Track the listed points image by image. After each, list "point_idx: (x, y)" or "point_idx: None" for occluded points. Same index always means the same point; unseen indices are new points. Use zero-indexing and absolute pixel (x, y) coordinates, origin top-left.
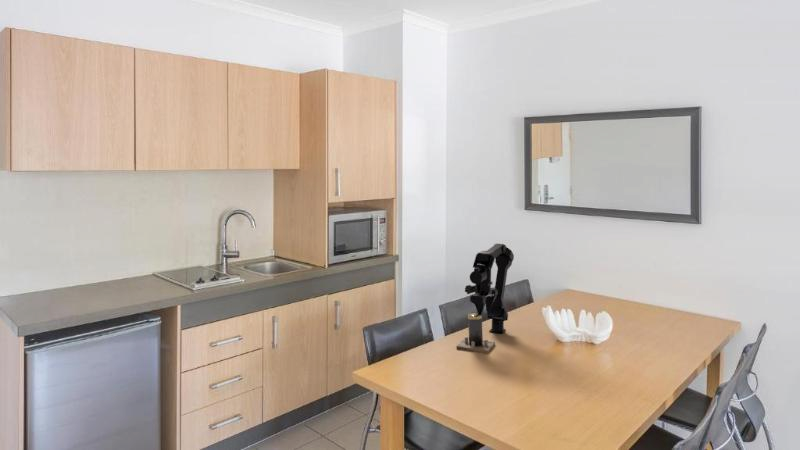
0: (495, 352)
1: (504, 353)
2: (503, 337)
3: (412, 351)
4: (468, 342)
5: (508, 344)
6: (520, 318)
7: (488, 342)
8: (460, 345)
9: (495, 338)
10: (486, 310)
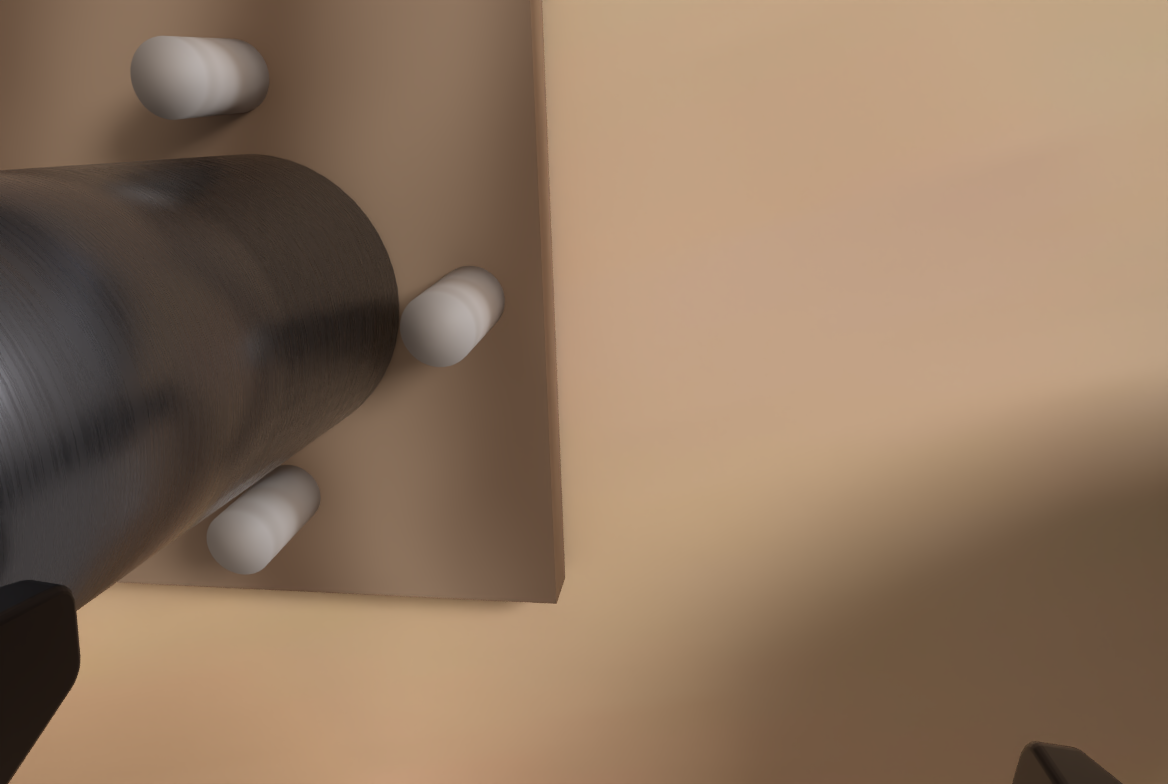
0: (241, 643)
1: (275, 767)
2: (1107, 630)
3: None
4: (275, 118)
5: (720, 765)
6: None
7: (485, 495)
8: (17, 20)
9: (982, 501)
10: (1033, 765)
